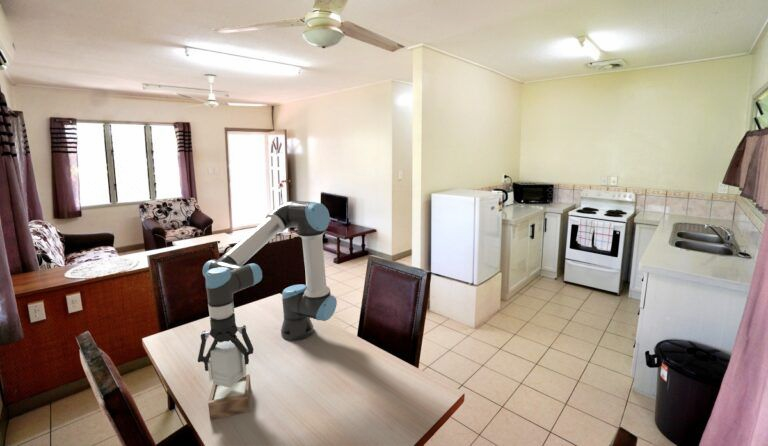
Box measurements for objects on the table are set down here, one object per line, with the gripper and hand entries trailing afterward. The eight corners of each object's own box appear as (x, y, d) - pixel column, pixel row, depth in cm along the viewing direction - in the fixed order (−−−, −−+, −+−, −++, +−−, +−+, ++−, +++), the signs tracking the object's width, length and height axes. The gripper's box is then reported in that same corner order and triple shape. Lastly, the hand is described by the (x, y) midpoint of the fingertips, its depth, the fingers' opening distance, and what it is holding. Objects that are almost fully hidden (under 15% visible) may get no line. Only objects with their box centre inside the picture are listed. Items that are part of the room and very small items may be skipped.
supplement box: (245, 375, 125) (242, 342, 123) (229, 388, 118) (226, 353, 116) (228, 371, 127) (224, 338, 125) (212, 384, 121) (208, 349, 118)
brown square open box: (251, 389, 132) (249, 374, 131) (249, 411, 121) (247, 395, 120) (215, 396, 129) (213, 380, 127) (210, 419, 117) (207, 402, 116)
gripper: (258, 305, 125) (263, 363, 129) (186, 314, 118) (194, 375, 123) (257, 314, 118) (262, 375, 122) (181, 324, 111) (189, 388, 116)
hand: (228, 375), depth 122 cm, fingers closed on supplement box, 10 cm apart
